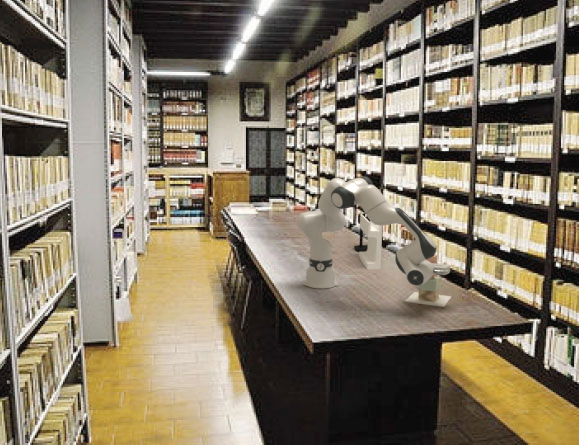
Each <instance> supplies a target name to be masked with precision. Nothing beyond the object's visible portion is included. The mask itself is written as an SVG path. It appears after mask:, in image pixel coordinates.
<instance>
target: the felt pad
mask: <svg viewBox="0 0 579 445" xmlns="http://www.w3.org/2000/svg"><path fill="white" fill-rule="evenodd" d="M418 296H419V291H414V292H413V293H412V294H411V295H410V296H409V297H408V298H407V299H405V301H404V302H406V303H411V304H420V305H427V306H431V307H433V306H434V307H440V308H441V307H442V308H445V307H446V305H447V304H448V303H449V302H450V300H451V298H452V296H450V295H445V294H444V295H443V294H439V298H438V299H437V301H436V302H432V301H424V300H418Z"/></svg>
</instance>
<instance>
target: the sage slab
mask: <svg viewBox="0 0 579 445" xmlns="http://www.w3.org/2000/svg"><path fill="white" fill-rule="evenodd" d="M440 285H441V278H440V277H439V276H435V277H434V278H430V279H429V280H428V281H427V282H426V283H424V284H422V285H419V288H418V291H419V290H427V291H435V292H436V291H437V290H438V289H439V290H440V287H441V286H440Z"/></svg>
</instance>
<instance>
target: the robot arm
mask: <svg viewBox="0 0 579 445" xmlns="http://www.w3.org/2000/svg"><path fill="white" fill-rule="evenodd" d="M317 204H318V209H319V210H314V211H313V210H312V211H306V212H302V213H300V214H299V215H298V216H297V219H296V226H297V228H298V230H299V231H300V232H302V233H303V234H304V235H305V237H306V238H307V240H308V243H309V252H310V253H309V254H310V255H309V257H310V258H309V260H308V267H307V269H306V271H305V274H306V275H305V280H304V281H302V285H303V286H305V287H306V286H307V287H309V288H313V289H330V288H334V287H339V285H340V284H339V282H338V281H337V280H336V270H335V269H334V267H333V262H334V261H333V258H332V256H333V255H332V252H333V251H332V250H333V248H332V247H333V246H332V243H331V242H330V241H329V240H328V239H325V238H324V237H323V233H329V232H330V233H331V232H332V233H333V232H337V231H341V230H343V229H344V227H345V225H346V220H347V219H346V217H345V215H344V213H343V212H342V211H341V210H345V209H349V208H353V207H354V206H355V205H359V206H360V208H362V211H363V212H364V214H365V216H366V217H367V216H368V218H369V219H370V221H371V222H372V223H374V224H376V225H380V226H382V227H383V226H390V225H393V224H399V225H402V226H403V227H405V229H406V230H407V231H408V232H409V233H410V234H411V235H412V236H413V237H414V240H413V241H411V242H409V243H408V244H407V245H405V246H403V247H402V248H399V250H397V251H396V252H395V255H394V256H395V264H396V266H397V267H398V269H399V270H400V272H402V273H403V274H404V276H405V277H406V279H407V282H409V284H411V285H412V286H416V287H417V286H419V285H422V284H424V283H426V282H427V281H428V280H429V279H430V278H431V277H432V276H433V274H436V275H439V276H446V275H448V274H450V272H451V265H450V264H446V263H445V264H443V263H431V262H429V261H427V260H426V259H429V258H431V257H433V256H434V255H436V252H437V248H438V247H437V245H436V242H435V241H434V240H433V239H432V238H431V237H430V236H429V235H428V234H427V233H426V232H425V231H423V229H421V227H420V226H419V225H418V223H416V222H415V221H414V220H413V219H412V218H411V216H409V214H408V213H406V212H405V211H404V210H403V209H401V208H400V207H394V206H393V205H391V204H390V203H389V202H388V200H387V199H386V197H385V196H384V195H383V193H382V192H381V191H380V190H379V189H378V187H376V186H375V185H374V184H373V181H372V180H371V179H370V177H368V176H357V177H354V178H352V179H349V180H348V181H345V180H344V179H343V178H339V177H335V178H332V179H331V180H330V181H329V182H328V183H327V184H326V186H325V188H324V189H323V191H322V193H321V196H320V198H319V200H318V203H317Z"/></svg>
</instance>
